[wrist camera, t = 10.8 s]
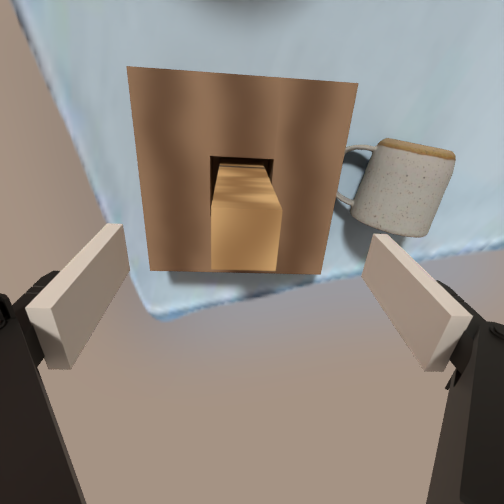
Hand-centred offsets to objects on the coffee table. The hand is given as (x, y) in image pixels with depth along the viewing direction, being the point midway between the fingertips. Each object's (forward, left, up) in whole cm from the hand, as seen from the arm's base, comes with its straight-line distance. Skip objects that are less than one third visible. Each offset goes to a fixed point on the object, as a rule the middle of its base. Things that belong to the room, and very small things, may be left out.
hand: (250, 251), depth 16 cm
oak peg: (0, 0, -17) cm, 17 cm away
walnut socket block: (0, 0, -18) cm, 18 cm away
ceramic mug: (-14, 0, -18) cm, 23 cm away
